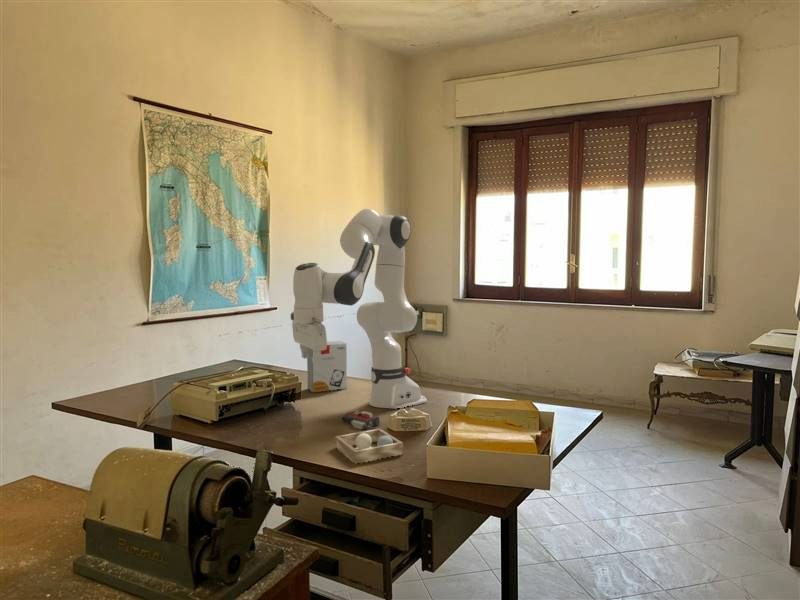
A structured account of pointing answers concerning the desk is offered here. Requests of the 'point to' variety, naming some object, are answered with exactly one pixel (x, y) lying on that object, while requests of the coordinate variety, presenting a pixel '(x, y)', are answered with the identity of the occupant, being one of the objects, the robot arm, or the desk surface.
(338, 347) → the hard drive box
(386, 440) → the blue ball
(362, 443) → the cream ball
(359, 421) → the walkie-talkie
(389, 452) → the shallow open tray
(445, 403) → the desk surface
